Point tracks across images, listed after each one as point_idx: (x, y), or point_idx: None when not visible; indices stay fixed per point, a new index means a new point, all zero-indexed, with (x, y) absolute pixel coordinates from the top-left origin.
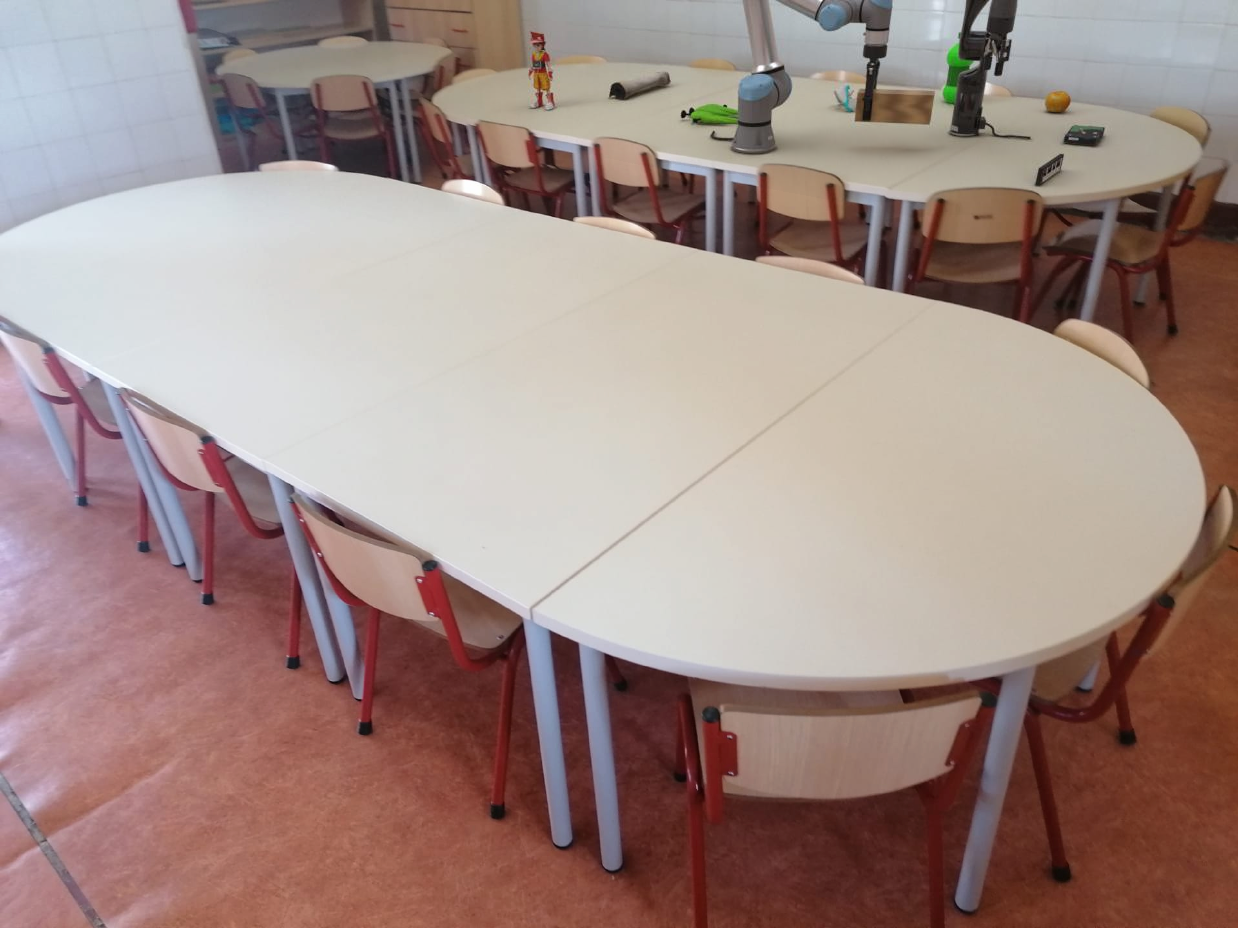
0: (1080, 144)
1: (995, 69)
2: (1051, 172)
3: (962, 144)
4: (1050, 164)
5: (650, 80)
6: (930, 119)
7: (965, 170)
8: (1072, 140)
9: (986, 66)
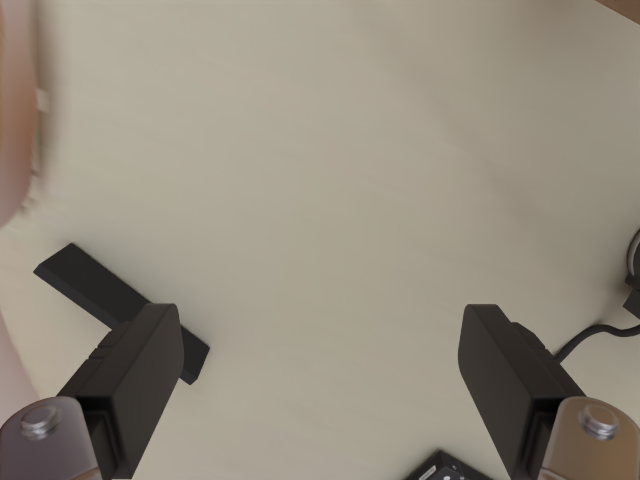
0: (413, 475)
1: (128, 339)
2: None
3: (558, 198)
4: (96, 315)
5: None
6: (624, 7)
7: (256, 89)
8: (427, 469)
9: (478, 347)
